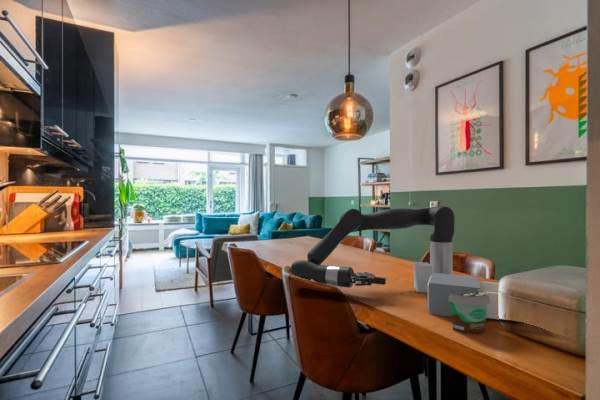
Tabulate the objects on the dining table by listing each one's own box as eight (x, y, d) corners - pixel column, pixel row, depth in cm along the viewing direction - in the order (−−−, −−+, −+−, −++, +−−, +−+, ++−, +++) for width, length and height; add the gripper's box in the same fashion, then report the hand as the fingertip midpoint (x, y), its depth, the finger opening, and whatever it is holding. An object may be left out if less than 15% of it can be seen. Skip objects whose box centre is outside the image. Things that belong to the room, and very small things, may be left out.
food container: (469, 339, 77) (468, 299, 77) (448, 330, 83) (448, 293, 83) (501, 331, 82) (500, 293, 82) (479, 323, 88) (479, 288, 88)
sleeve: (429, 313, 96) (428, 282, 96) (432, 299, 110) (432, 272, 110) (481, 321, 89) (480, 288, 89) (477, 305, 103) (477, 276, 104)
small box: (432, 293, 118) (432, 265, 118) (417, 292, 119) (416, 265, 119) (428, 287, 126) (427, 262, 126) (413, 287, 127) (413, 261, 127)
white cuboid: (427, 309, 97) (427, 284, 97) (431, 297, 109) (430, 275, 109) (523, 322, 85) (522, 294, 86) (514, 307, 98) (514, 283, 98)
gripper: (333, 269, 112) (381, 274, 104) (345, 263, 124) (389, 267, 116) (333, 290, 112) (381, 296, 104) (345, 282, 123) (389, 287, 115)
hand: (385, 281), depth 110 cm, fingers closed
